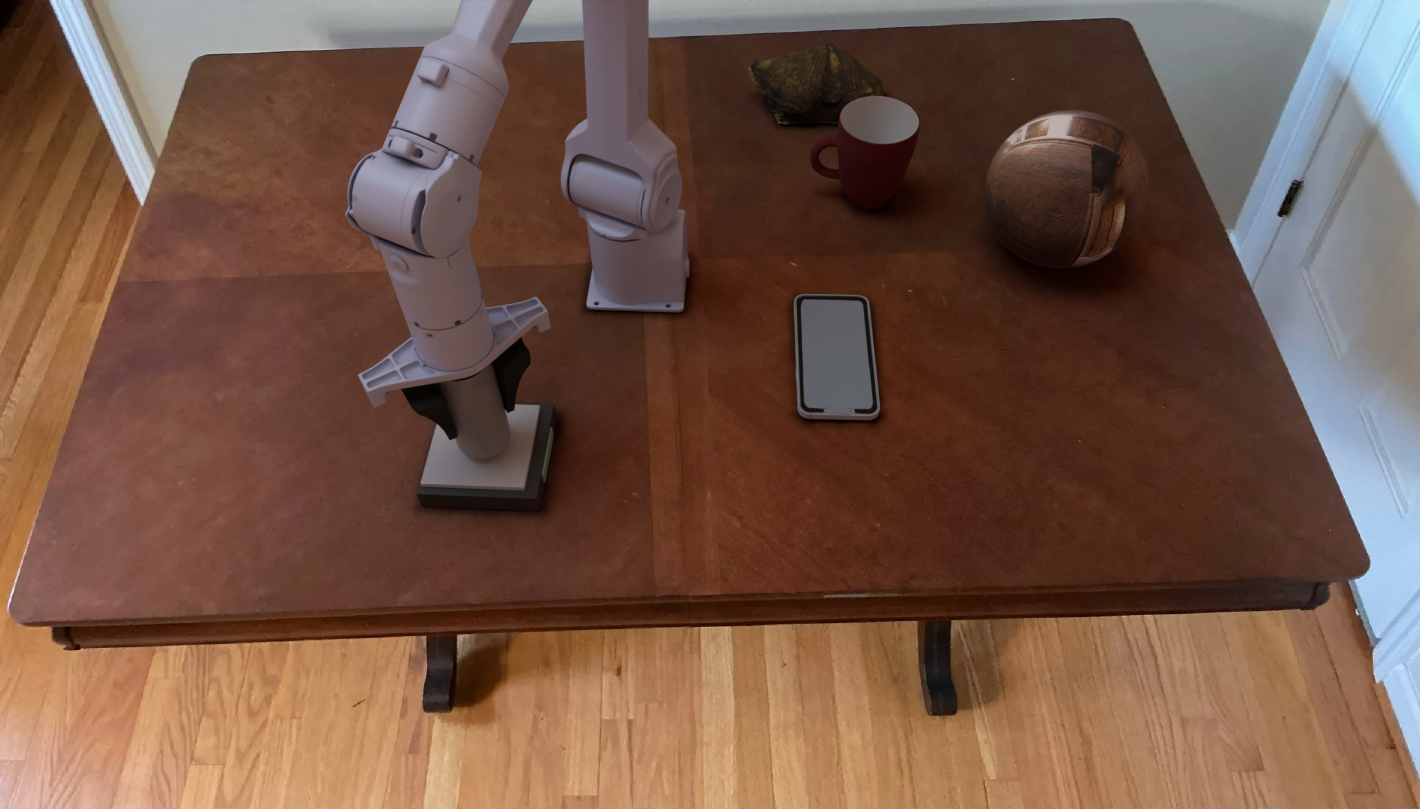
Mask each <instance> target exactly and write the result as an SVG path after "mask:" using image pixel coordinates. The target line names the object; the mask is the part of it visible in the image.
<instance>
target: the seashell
mask: <svg viewBox="0 0 1420 809" xmlns="http://www.w3.org/2000/svg"><path fill="white" fill-rule="evenodd" d="M746 69H747V70H748V74H749V76H750V80H751V82H752V84H753V85H754V86H755V87H756V88H757V90H758V91H759V92H760V94H759V95H760V97H762V96H763V97H764V98H765V100H766V102H767V105H768V108H769V110H770V112H771V114H772V115H773V117H774V118H775V119H776V121H777V123H778V124H779V125H787V126H788V125H792V124H794V125H797V124H798V125H799V124H835V125H838V123H839V116H840V113H841V110H842V109H843V108H844V107H845V106H846V105H847V104H848V103H849V102H851V101H853V100H855V99H858V98H862V97H867V96H885V95H884V94H885V93H884V90H883V83H882V80H881V78H879V77H878V76H877V75H875V74H874V73H872V72H871V70H870V69H869V68H867V67H866V66H865V65H864V64H862V62H860V61H859V60H858V59H857V58H856V57H854V56H853V55H852V54H851V53H850V52H848V51H846V50H844V49H843V48H841V47H839V46H837V45H835V44H833V43H830V42H824V43H820V44H817V45H814V46H813V47H809V48H807V49H803V50H800V51H799V50H798V51H794V52H790V53H783V54H777V55H773V56H767V57H756V58H755V59H753V63H752V64H751V65H750V66H748V67H747V68H746Z"/></svg>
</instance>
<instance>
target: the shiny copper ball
mask: <svg viewBox="0 0 1420 809" xmlns="http://www.w3.org/2000/svg"><path fill="white" fill-rule="evenodd" d="M1149 176H1150V175H1149V169H1148V166H1147V162H1146V159H1145V156H1144V153H1143V152H1142V149H1141V147H1140V146H1139V144H1138V143H1137V141H1136V140H1135V138H1134V137H1133V136H1132V135H1131V133H1129V132H1128V131H1127V130H1126V128H1124V127H1123V126H1122V125H1120V123H1117V122H1116V121H1115V120H1113V119H1111V118H1110V117H1107V116H1105V115H1102V114H1100V113H1097V112H1093V111H1090V110H1089V111H1088V110H1084V109H1063V110H1062V109H1061V110H1056V111H1055V110H1054V111H1051V112H1048V113H1045V114H1042V115H1038V116H1037V117H1035V118H1032V119H1030V120H1028V121H1027V122H1025V123H1023V124H1022V125H1021V126H1019V127H1018V128H1017V129H1015V130H1014V131H1013V132H1012V133H1011V134H1010V135H1009V136H1007V137H1006V139H1005V140H1004V141H1003V142H1002V143H1001V145H1000V146H999V148H998V149H997V151H996V152H995V154H994V156H993V157H992V160H991V162H990V164H989V167H988V169H987V173H986V176H985V182H984V188H983V189H984V190H983V193H984V194H983V198H984V201H983V202H984V208H985V212H986V213H985V214H986V216H987V220H988V222H989V224H990V227H991V229H992V231H993V233H994V234H995V236H996V237H997V238H998V240H999V241H1000V242H1001V243H1002V244H1003V245H1004V247H1006V249H1007V250H1008V251H1009V252H1011V253H1013V254H1014V255H1015V256H1017V257H1018V258H1020V259H1022V260H1024V261H1025V262H1028V263H1030V264H1033V265H1035V266H1038V267H1039V266H1040V267H1043V268H1048V269H1073V268H1078V267H1084V266H1087V265H1089V264H1092V263H1095V262H1097V261H1099V260H1102V259H1103V258H1106V257H1107V256H1108V255H1110V254H1111V253H1113V252H1114V251H1116V250H1117V249H1118V248H1119V247H1120V246H1122V244H1124V243H1125V242H1126V241H1127V239H1129V237H1130V236H1131V235H1132V233H1133V232H1134V231H1135V229H1136V228H1137V226H1138V224H1139V223H1140V221H1141V219H1142V216H1143V214H1144V213H1145V209H1146V206H1147V203H1148V198H1149V190H1150V189H1149V188H1150V177H1149Z"/></svg>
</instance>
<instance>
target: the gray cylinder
mask: <svg viewBox="0 0 1420 809" xmlns="http://www.w3.org/2000/svg"><path fill="white" fill-rule="evenodd" d="M437 386H438V388H439V389H440V391H441V393H442V394H443V396H444V398H445V399H446V401H447V407H448V412H449V416H450V419H451V421H452V423H453V425H454V427H455V429H456V431H457V435H458V437H457V438H455V440H456V443H457V445H458V447H459V449H460V450H461V452H462V453H464V454H465V455H467V456H469V457H471V458H476V459H484V458H490V457H492V456H495V455H497V454H499V453H500V452H501V451H503V450H504V449H505V448H506V446H507V445H508V443H509V441H510V437H511V431H510V426H509V422H508V418H507V415H506V411H505V407H504V404H503V400H502V396H501V393H500V389H499V385H498V381H497V378H496V374H495V370H494V367H493V363H492V362H491V363H490V364H489V365H488V366H487V367H485V368H484V369H483V370H481V371H480V372H478V373H476V374H474V375H472V376H469V377H466V378H461V379H456V380H450V381H444V382H438V383H437Z"/></svg>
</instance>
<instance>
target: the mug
mask: <svg viewBox="0 0 1420 809" xmlns="http://www.w3.org/2000/svg"><path fill="white" fill-rule="evenodd" d="M920 124H921V122H920V117H919V115H918V113H917V112H916V110H915V109H913V107H911V106H910V105H909V104H907V103H906V102H904V101H902V100H900V99H897V98H894V97H890V96H885V95H884V96H867V97H862V98H858V99H855V100H853V101H851V102H849V103H848V104H847V105H846V106H845V107H844V108H843V109H842V110H841V113H840V116H839V123H838V124H837V128H836V133H834V134H831V133H830V134H825V135H823V136H821V137H819V138H818V139H816V141H815V142H814V144H813V145H812V147H811V149H810V154H809V161H810V165H811V167H812V169H813V170H814V171H815V172H816V173H817V174H818V175H820V176H822V177H824V178H828V179H834V180H839V181H840V184H841V186H842V188H843V189H844V191H845V193H846V195H847V197H848V199H849V200H850V202H851V203H852V204H853V205H854V206H856V207H858V208H861V209H866V210H874V209H877V208H880V207H882V206H883V205H884V204H886V203H887V202H888V201H889V199H891V198H892V196H893V195H894V194H895V193H896V192H897V190H898V189H899V188H900V186H901V185H902V182H903V179H904V177H905V175H906V172H907V170H908V167H909V165H910V164H911V163H910V162H911V160H912V159H913V156H914V154H915V150H916V146H917V142H918V137H919V132H920ZM827 148H835V149H836V154H837V162H838V163H837V164H838V169H835V168H832V167H828V166H826V165H824V164H823V163H822V162H821V160H820V154H821V153H822V151H823V150H824V149H827Z"/></svg>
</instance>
